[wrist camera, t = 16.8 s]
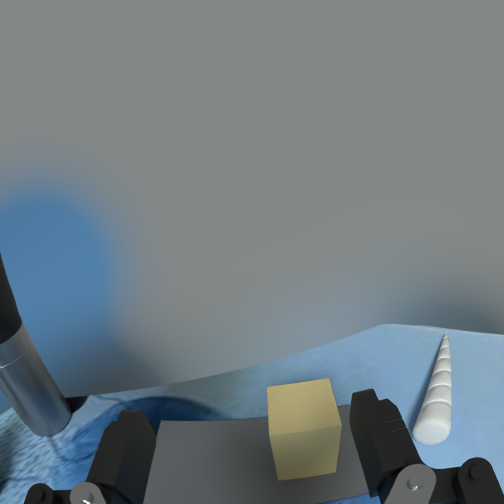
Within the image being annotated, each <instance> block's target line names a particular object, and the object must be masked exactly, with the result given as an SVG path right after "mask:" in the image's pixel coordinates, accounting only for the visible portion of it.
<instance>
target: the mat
mask: <svg viewBox="0 0 504 504" xmlns="http://www.w3.org/2000/svg"><path fill="white" fill-rule="evenodd" d="M337 409H338V412H339V416H340V420H341V423H342V428H341V436H340V444H339V452H338V459H337V466H336V472H335V473H329V474H324V475H318V476H311V477H305V478H297V479H289V480H279V481H278V477H277V472H276V467H275V462H274V457H273V452H272V447H271V442H270V437H269V421H268V417H263V418H252V419H238V420H218V421H161V423H160V427H159V431H158V434H157V438H156V448H155V452H154V456H153V461H152V465H151V470H150V474H149V479H148V483H147V488H146V492H145V497H144V502H143V504H321V503H326V502H332V501H337V500H342V499H347V498H351V497H356V496H360V495H364V494H368V493H369V491H368V487H367V483H366V480H365V476H364V473H363V469H362V466H361V463H360V459H359V456H358V452H357V449H356V446H355V442H354V439H353V436H352V432H351V429H350V423H349V415H350V405H345V406H340V407H337Z"/></svg>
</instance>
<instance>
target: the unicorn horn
mask: <svg viewBox="0 0 504 504" xmlns="http://www.w3.org/2000/svg"><path fill="white" fill-rule="evenodd" d="M446 337H447V335H446V334H445V335H444V338H443V341H442V344H441V347H440V350H439V354H438V357H437V361H436V364H435V367H434V371H433V374H432V377H431V380H430V384H429V387H428V390H427V393H426V396H425V399H424V402H423V404H422V407H421V410H420V413H419V415H418V418H417V420H416V423H415V426H414V428H413V431H412V434H413V438H414V439H415V440H416V441H417V442H419V443H421V444H424V445H436V444H438V443H441V442H442V441H443V440H445V439H446V438H447V437H448V435H449V433H450V429H451V402H452V389H451V388H452V380H451V360H450V349H449V342H448V338H446Z"/></svg>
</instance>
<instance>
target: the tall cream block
mask: <svg viewBox="0 0 504 504" xmlns="http://www.w3.org/2000/svg"><path fill="white" fill-rule="evenodd" d="M267 401H268V421H269V437H270V442H271V447H272V452H273V457H274V462H275V467H276V472H277V477H278V481H279V480H289V479H297V478H305V477H311V476H318V475H324V474H329V473H335V472H336V466H337V459H338V452H339V444H340V436H341V428H342V423H341V420H340V416H339V412H338V409H337V405H336V401H335V398H334V394H333V391H332V387H331V384H330V380H329V378H325V379H319V380H313V381H307V382H300V383H293V384H285V385H277V386H268V387H267Z"/></svg>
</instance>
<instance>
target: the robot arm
mask: <svg viewBox="0 0 504 504" xmlns="http://www.w3.org/2000/svg"><path fill="white" fill-rule="evenodd" d="M0 390H1V391H2V393H3V394H4V395H5V397H6V398H7V400H8V401H9V403H10V404H11V406H12V407H13V408H14V410H15V411H16V412H17V414H18V415H19V416H20V418H21V419H22V420H23V422H24V423H25V424H26V425H27V426H28V427H29V428H30V429H31V431H32V432H33V433H34V434H36V435H38V436H51V435H54V434H56V433H58V432H59V431H60V430H62V429H63V428H64V427H65V426H66V425H67V423H68V422H69V419H70V417H71V408H70V406H69V404H68V403H67V401H66V400H65V398H64V396H63V395H62V393H61V392H60V390H59V388H58V387H57V385H56V384H55V382H54V380H53V379H52V377H51V375H50V373H49V372H48V370H47V368H46V367H45V365H44V363H43V361H42V359H41V357H40V356H39V354H38V352H37V350H36V348H35V347H34V344H33V342H32V340H31V338H30V337H29V334H28V332H27V330H26V328H25V326H24V324H23V322H22V320H21V317H20V315H19V313H18V310H17V306H16V302H15V299H14V296H13V293H12V290H11V287H10V285H9V282H8V279H7V275H6V272H5V269H4V265H3V261H2V258H1V254H0ZM349 423H350V429H351V432H352V436H353V439H354V442H355V446H356V449H357V452H358V456H359V459H360V463H361V466H362V469H363V473H364V476H365V480H366V483H367V487H368V491H369V494H370V498H372V497H376V496H379V498H380V502H381V504H504V494H503V492H502V489H501V487H500V485H499V482H498V480H497V477H496V475H495V473H494V471H493V468H492V466H491V464H490V463H489V462H488V461H487V460H485V459H483V458H479V457H475V458H471V459H469V460H467V461H466V462H464V464H463V465H462V466H461V467H454V468H446V469H434V468H431V467H429V466H427V465H426V464H424V463H423V462H422V460H421V459H420V457H419V454H418V452H417V450H416V447H415V445H414V443H413V441H412V438H411V436H410V434H409V432H408V429H407V428H406V425H405V423H404V421H403V420H402V416H401V414H400V412H399V410H398V408H397V406H396V405H394V404H393V403H392V402H391V401H390V400H389V399H383V400H378V398H377V396H376V393H375V391H374V390H373V389H368V390H363V391H359V392H354V393H353V394H352V400H351V408H350V415H349ZM155 448H156V435H155V432H154V430H153V429H152V427H151V425H150V424H149V422H148V420H147V419H146V417H145V415H144V413H143V412H142V411H140V410H122V411H121V413H120V415H119V418H118V421H112V422H111V423H110V425H109V426H108V427H107V428H106V429H105V430H104V433H103V436H102V438H101V442H100V444H99V446H98V450H97V452H96V454H95V457H94V460H93V463H92V465H91V468H90V471H89V474H88V477H87V479H86V481H85V482H82V483H79V484H77V485H76V486H75V487H74V488H73V489H72V490H52V489H51V488H50V487H49V486H47V485H46V484H43V483H38V484H35V485H33V486H32V487H31V488H30V489H29V490H28V493H27V495H26V498H25V501H24V504H143V502H144V497H145V492H146V488H147V483H148V479H149V474H150V470H151V465H152V461H153V456H154V452H155Z"/></svg>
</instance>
